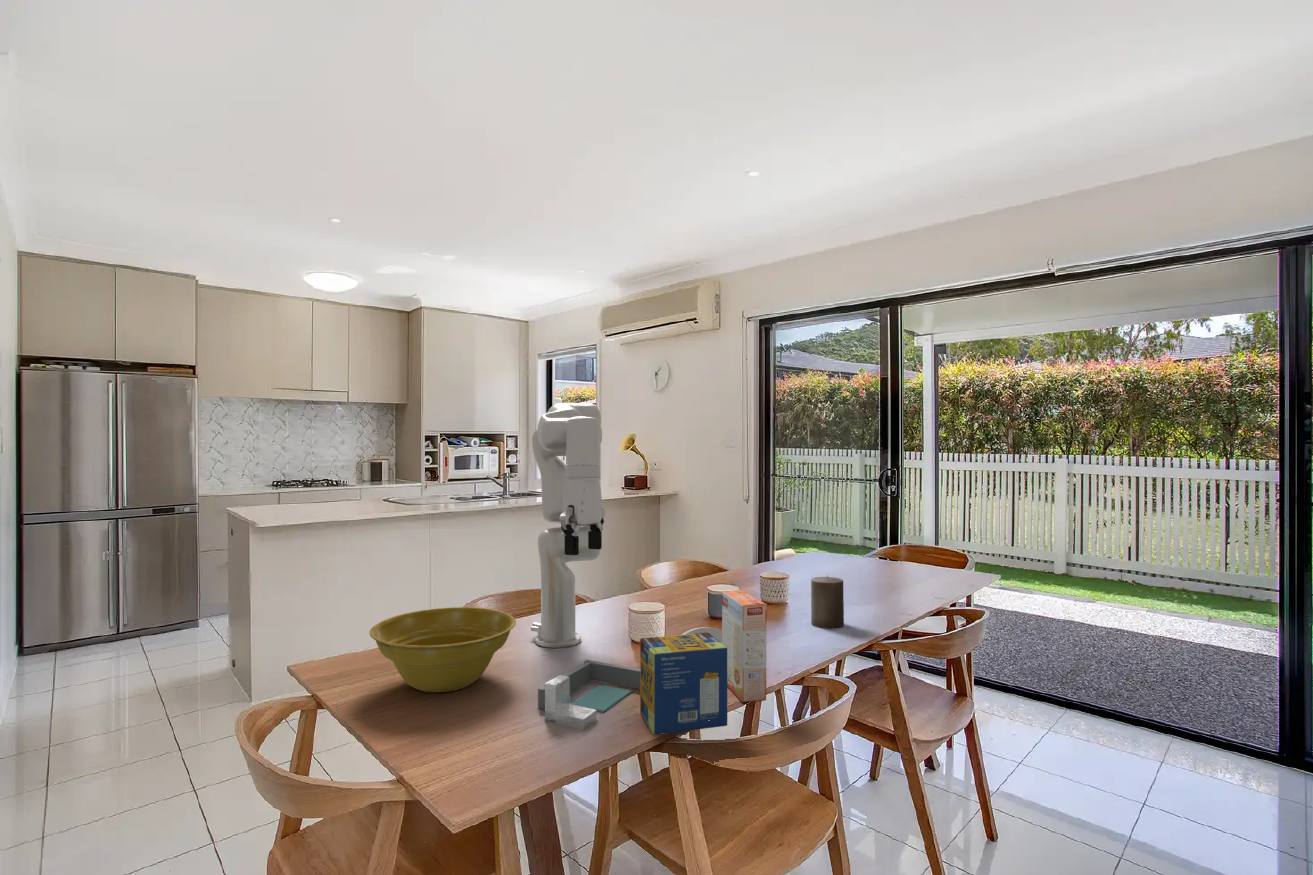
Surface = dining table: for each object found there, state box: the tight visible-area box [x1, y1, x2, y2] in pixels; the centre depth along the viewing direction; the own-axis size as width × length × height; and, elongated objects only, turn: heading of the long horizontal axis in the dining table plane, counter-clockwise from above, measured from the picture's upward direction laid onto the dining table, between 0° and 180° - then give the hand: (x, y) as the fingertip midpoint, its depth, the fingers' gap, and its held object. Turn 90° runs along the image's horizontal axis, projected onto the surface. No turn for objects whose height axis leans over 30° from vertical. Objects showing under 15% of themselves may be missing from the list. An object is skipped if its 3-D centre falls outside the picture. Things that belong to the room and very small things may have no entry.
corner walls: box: [537, 659, 640, 710], centre depth 141 cm, size 18×20×4 cm
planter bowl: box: [369, 606, 517, 693], centre depth 151 cm, size 32×32×13 cm
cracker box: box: [721, 590, 768, 703], centre depth 145 cm, size 14×6×21 cm, turn 12°
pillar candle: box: [810, 575, 845, 630], centre depth 198 cm, size 10×10×15 cm
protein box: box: [639, 632, 728, 736], centre depth 130 cm, size 10×15×16 cm
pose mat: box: [570, 684, 632, 713], centre depth 140 cm, size 8×12×1 cm, turn 154°
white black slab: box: [678, 626, 722, 643], centre depth 163 cm, size 17×5×10 cm, turn 125°
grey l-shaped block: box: [544, 674, 598, 731], centre depth 130 cm, size 9×5×8 cm, turn 64°
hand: (583, 551), depth 142 cm, fingers open, 9 cm apart
